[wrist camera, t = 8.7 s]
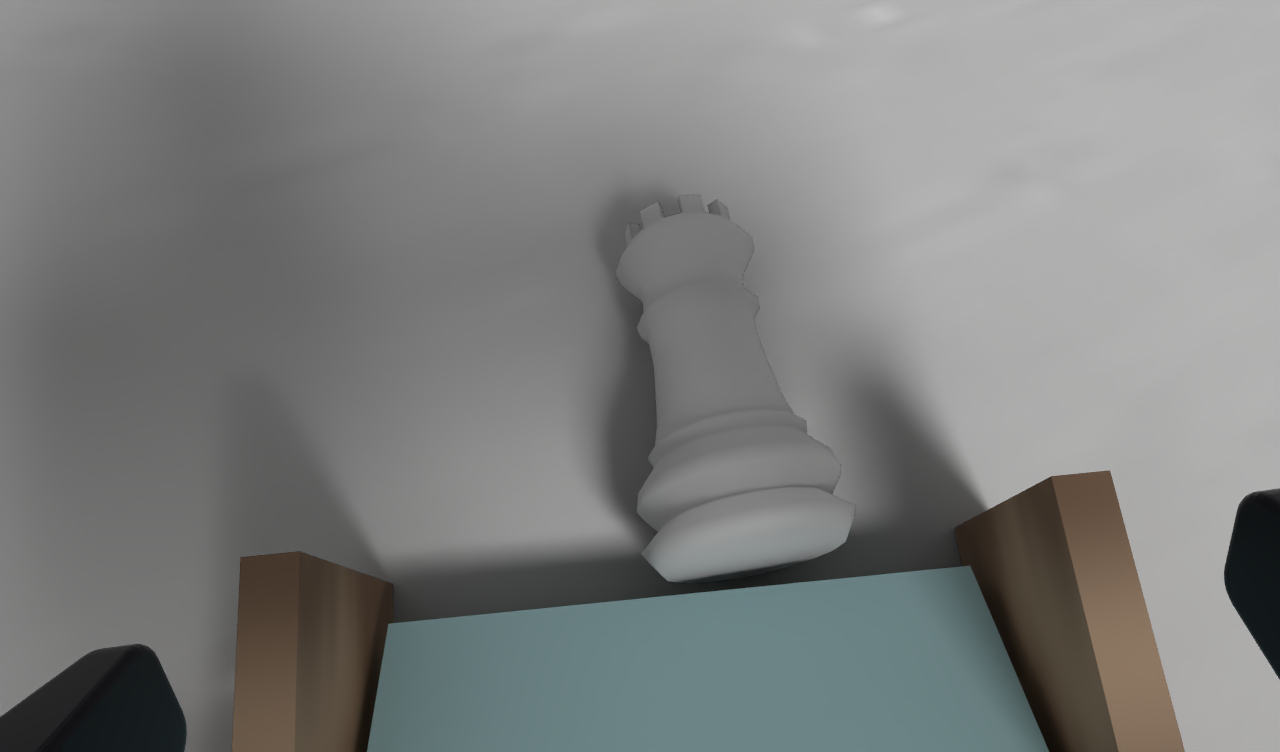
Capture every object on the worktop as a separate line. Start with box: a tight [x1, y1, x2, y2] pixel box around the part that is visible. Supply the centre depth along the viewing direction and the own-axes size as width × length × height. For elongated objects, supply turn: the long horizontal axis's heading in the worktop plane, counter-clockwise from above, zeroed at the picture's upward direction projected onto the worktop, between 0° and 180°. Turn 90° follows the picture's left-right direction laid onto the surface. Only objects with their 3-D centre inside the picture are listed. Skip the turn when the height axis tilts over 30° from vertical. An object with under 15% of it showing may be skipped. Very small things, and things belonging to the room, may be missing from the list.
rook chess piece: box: [616, 195, 856, 583], centre depth 20 cm, size 4×4×8 cm
